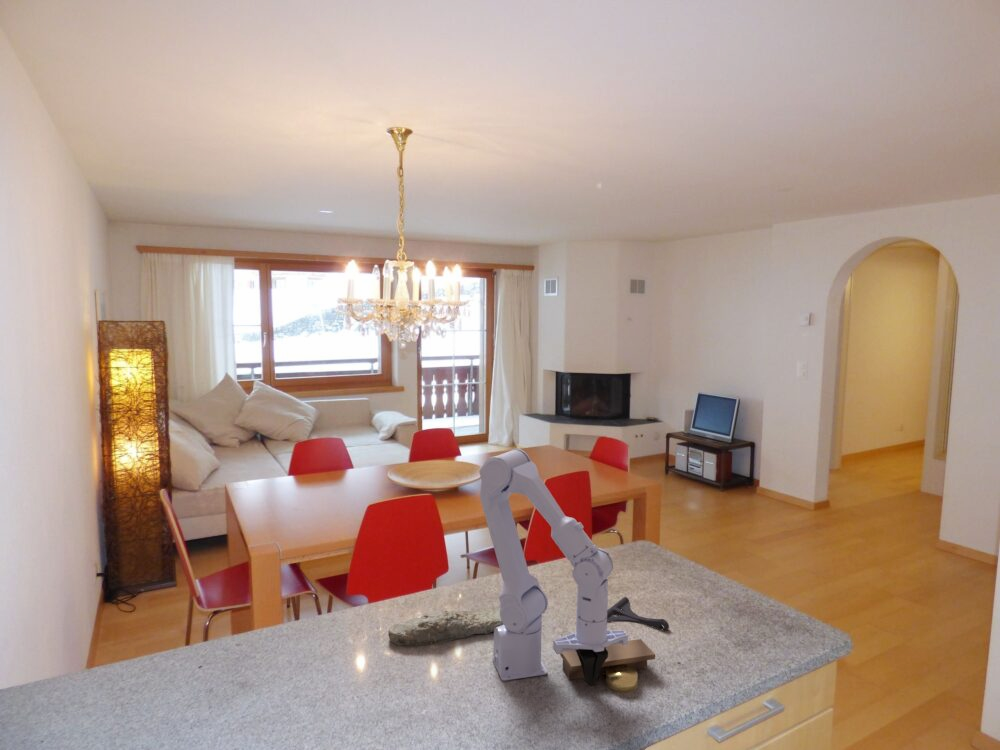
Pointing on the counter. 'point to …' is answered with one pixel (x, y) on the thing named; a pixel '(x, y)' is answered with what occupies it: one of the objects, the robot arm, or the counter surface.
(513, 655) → the robot arm
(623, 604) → the bracket
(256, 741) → the counter surface
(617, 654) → the walnut shelf
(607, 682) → the brass puck
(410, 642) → the elongated rock
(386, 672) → the counter surface
